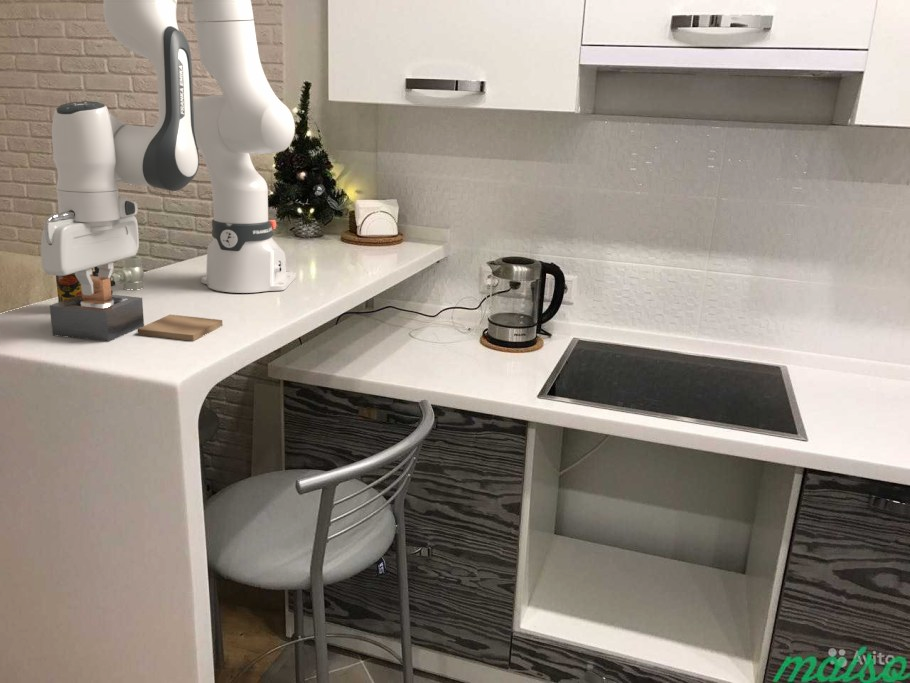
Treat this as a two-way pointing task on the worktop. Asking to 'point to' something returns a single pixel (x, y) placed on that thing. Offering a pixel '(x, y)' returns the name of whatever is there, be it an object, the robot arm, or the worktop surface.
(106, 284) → the plug
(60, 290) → the condiment
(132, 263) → the valve
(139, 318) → the housing
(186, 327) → the board
